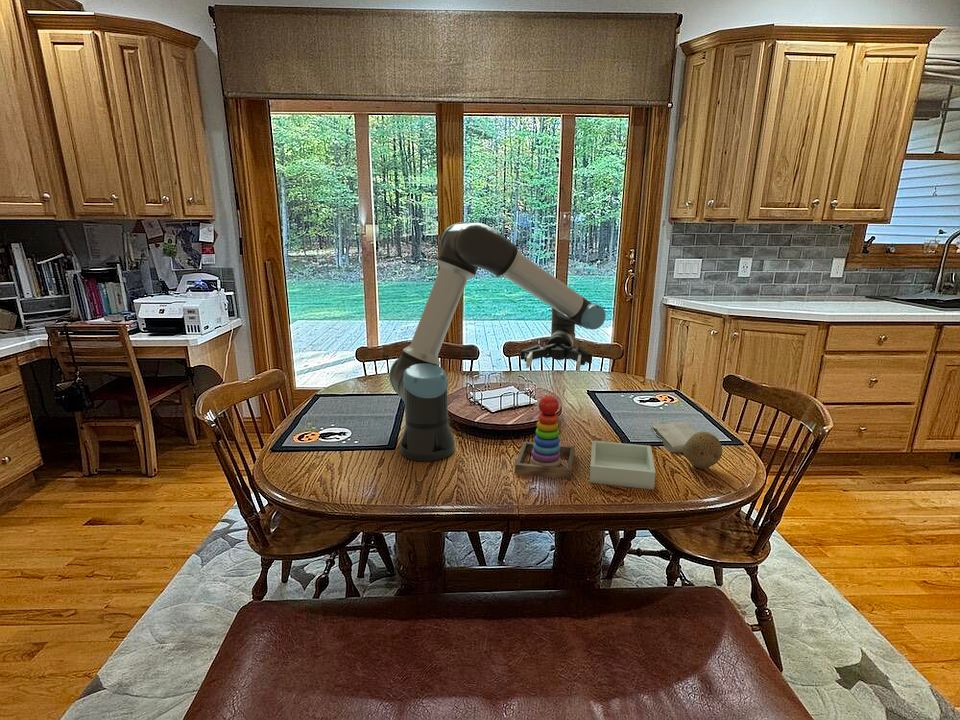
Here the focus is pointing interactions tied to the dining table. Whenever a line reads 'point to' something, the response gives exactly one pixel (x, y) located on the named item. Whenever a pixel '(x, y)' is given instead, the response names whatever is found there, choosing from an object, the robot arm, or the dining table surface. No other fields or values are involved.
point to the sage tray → (622, 465)
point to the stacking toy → (547, 434)
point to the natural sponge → (703, 450)
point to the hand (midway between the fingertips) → (552, 364)
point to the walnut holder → (545, 470)
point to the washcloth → (674, 434)
